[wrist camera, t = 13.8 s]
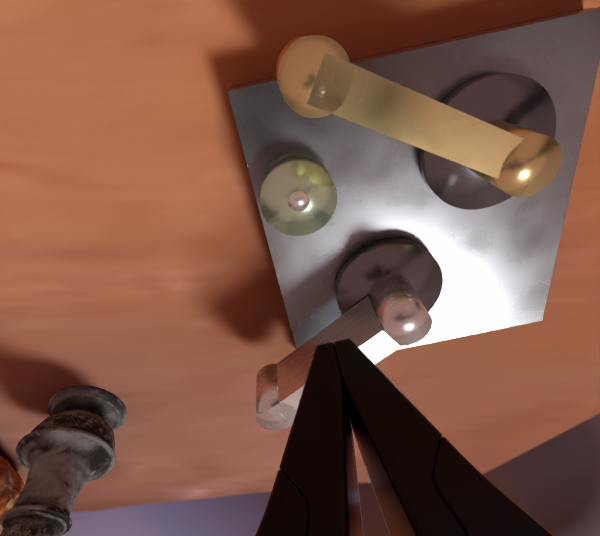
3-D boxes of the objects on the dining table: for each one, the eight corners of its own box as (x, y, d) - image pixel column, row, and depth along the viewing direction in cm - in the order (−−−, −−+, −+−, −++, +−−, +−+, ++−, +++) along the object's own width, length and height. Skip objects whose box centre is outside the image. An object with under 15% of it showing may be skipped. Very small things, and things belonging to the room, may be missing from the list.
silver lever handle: (400, 217, 19) (427, 252, 16) (456, 283, 22) (489, 325, 18) (227, 355, 23) (222, 405, 20) (293, 397, 26) (297, 446, 22)
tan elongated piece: (573, 102, 17) (645, 117, 14) (494, 218, 20) (539, 252, 16) (302, -31, 13) (315, -52, 10) (254, 132, 16) (253, 154, 13)
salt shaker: (25, 408, 26) (-124, 643, 16) (80, 370, 25) (-45, 601, 15) (95, 444, 29) (6, 664, 19) (148, 412, 27) (82, 630, 17)
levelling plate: (584, 8, 16) (633, 4, 14) (527, 306, 25) (552, 331, 23) (229, 87, 17) (225, 94, 14) (299, 352, 26) (303, 381, 23)
